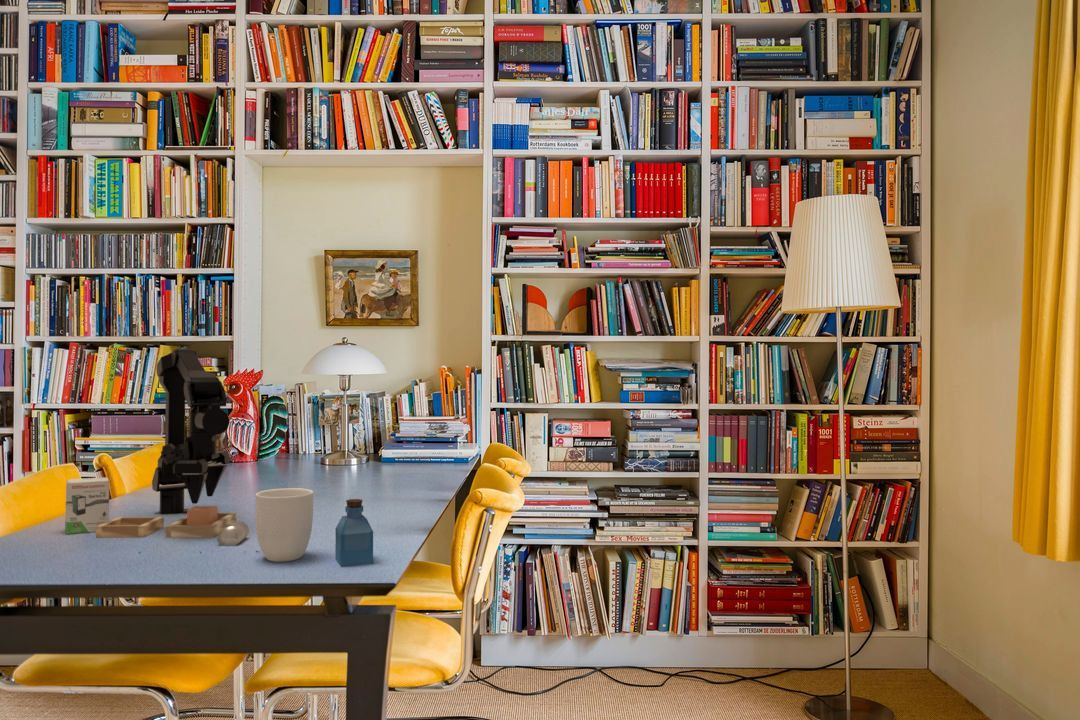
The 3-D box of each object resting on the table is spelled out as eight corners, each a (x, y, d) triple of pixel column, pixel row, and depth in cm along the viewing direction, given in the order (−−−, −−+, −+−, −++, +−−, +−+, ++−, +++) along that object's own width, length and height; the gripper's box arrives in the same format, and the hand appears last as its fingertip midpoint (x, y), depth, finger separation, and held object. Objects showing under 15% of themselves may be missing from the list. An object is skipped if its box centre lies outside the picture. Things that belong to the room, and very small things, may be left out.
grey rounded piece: (226, 523, 171) (246, 519, 172) (231, 543, 171) (251, 538, 172) (214, 530, 164) (235, 525, 165) (219, 551, 164) (240, 546, 165)
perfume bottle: (340, 566, 150) (341, 504, 150) (335, 559, 156) (335, 498, 156) (373, 563, 153) (373, 502, 153) (366, 556, 159) (367, 496, 159)
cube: (195, 527, 182) (195, 506, 182) (217, 527, 182) (217, 505, 182) (186, 532, 177) (187, 510, 177) (209, 532, 177) (209, 510, 177)
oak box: (118, 530, 181) (118, 517, 181) (163, 529, 182) (163, 516, 182) (95, 540, 171) (95, 526, 171) (143, 539, 172) (143, 526, 172)
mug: (237, 553, 160) (238, 489, 160) (289, 545, 168) (289, 484, 168) (269, 568, 149) (270, 499, 149) (323, 558, 157) (323, 492, 157)
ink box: (65, 534, 176) (65, 482, 176) (64, 530, 181) (65, 479, 181) (109, 530, 181) (109, 479, 181) (107, 526, 185) (108, 476, 185)
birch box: (192, 525, 187) (192, 513, 187) (236, 525, 187) (236, 512, 187) (165, 540, 171) (165, 526, 171) (213, 540, 172) (213, 526, 172)
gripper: (182, 427, 188) (182, 493, 188) (148, 435, 170) (148, 507, 170) (230, 427, 189) (230, 492, 189) (201, 435, 170) (200, 507, 170)
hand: (202, 499), depth 179 cm, fingers open, 9 cm apart
